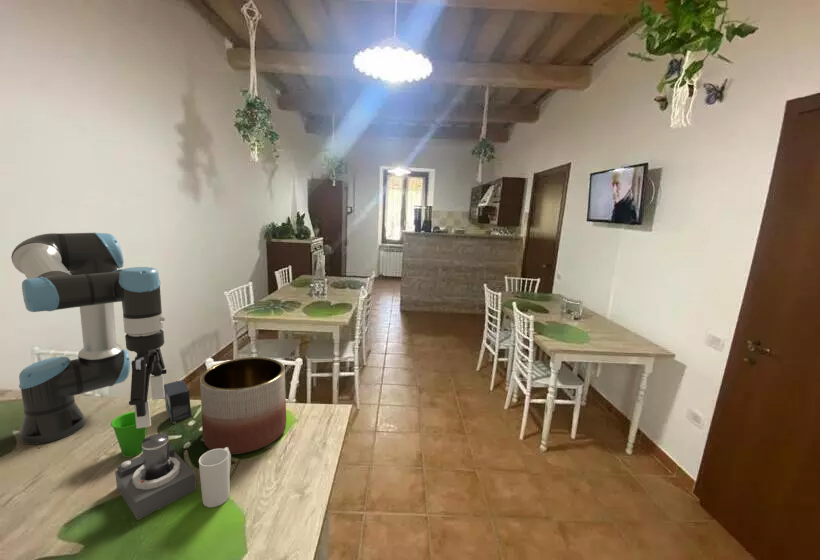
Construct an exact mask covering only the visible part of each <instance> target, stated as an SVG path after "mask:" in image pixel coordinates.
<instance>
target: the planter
mask: <svg viewBox="0 0 820 560" xmlns="http://www.w3.org/2000/svg"><path fill="white" fill-rule="evenodd" d="M285 372H286V369H285V365H284V364H283V363H282V362H280V361H278V360H276V359H275V358H274V359H273V358H269V357H261V356H260V357H259V356H257V357H256V356H253V357H252V356H251V357H242V358H240V357H239V358H235V359H230V360H226V361H223V362H220V363H218V364H217V363H216V364H215V365H213V366H211V367H209V368H207V369H206V370H205V371H203V373H202V374H201V375H200V379H199V383H200V385H199V387H200V403H201V407H200V408H201V426H202V427H201V429H202V440H203V442H204V445H205V447H206V448H208V449H209V451H210V450H213V449H225V447H228V449H229V451H230V454H231V455H241V454H246V453H252V452H254V451H258V450H260V449H262V448H264V447H266V446H269V445H270V444H272V443H273V442H275V441H276V440H277V439H278V438H280V437H281V435H282V434H283V433H284V432H285V429H286V425H287V403H286V402H287V401H286V400H287V398H286V373H285Z"/></svg>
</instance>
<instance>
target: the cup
mask: <svg viewBox="0 0 820 560" xmlns="http://www.w3.org/2000/svg"><path fill="white" fill-rule="evenodd" d="M110 427H112V428H113V431H114V433H115V438H116V439H117V442H118V444H119V445H118V446H119V448H120V450H121V453H122V456H124V457H125V458H132V457H135V456H137V455H139V454H141V453H143V449H142V441H143V440H144V439H145V438H146V435H147V434H146V433H147V427H144V428H137V429H136V419H135V410H134V411H129V412H126V413H123V414H121V415H118V416H117V417H115V418H114V419H113V420H112V421H111V422H110Z"/></svg>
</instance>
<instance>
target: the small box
mask: <svg viewBox="0 0 820 560" xmlns="http://www.w3.org/2000/svg"><path fill="white" fill-rule="evenodd" d="M164 393H165V398H164V400H165V409H166V413H167V414H168V417H169V419H170V421H171V423H175V422H178V421H182V420H186V419H189V418H191V417H192V408H191V399H190V389H189V388H188V386H187V384H186V383H185V381H184V379H181V380H176V381H172V382H169V383H164ZM188 417H189V418H188Z"/></svg>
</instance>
